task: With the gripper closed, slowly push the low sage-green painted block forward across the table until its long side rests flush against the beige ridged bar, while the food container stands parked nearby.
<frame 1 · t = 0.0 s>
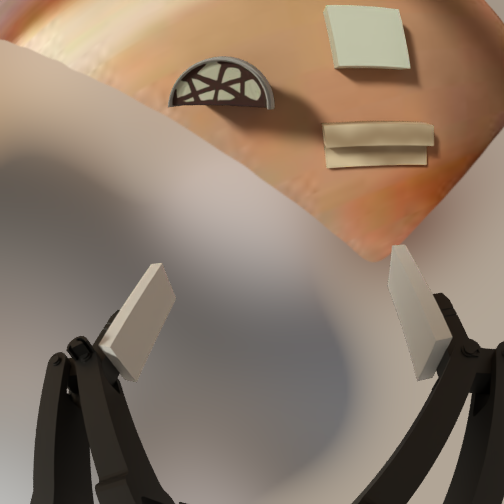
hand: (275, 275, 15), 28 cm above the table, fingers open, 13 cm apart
food container: (235, 83, 34), on the table
beige ridged bar: (376, 131, 34), on the table
block: (363, 40, 28), on the table
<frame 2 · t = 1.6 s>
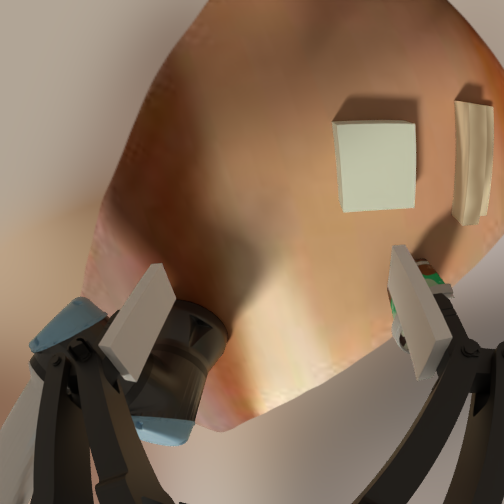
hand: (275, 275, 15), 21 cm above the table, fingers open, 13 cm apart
food container: (399, 281, 39), on the table
beige ridged bar: (463, 159, 27), on the table
block: (370, 159, 31), on the table
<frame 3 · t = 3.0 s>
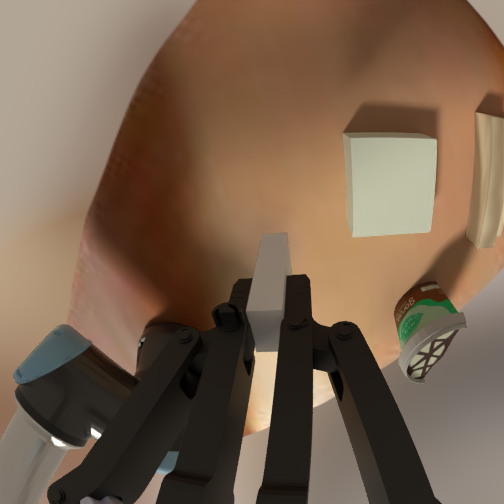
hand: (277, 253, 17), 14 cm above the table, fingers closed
food container: (406, 304, 36), on the table
beige ridged bar: (481, 177, 24), on the table
block: (384, 176, 27), on the table
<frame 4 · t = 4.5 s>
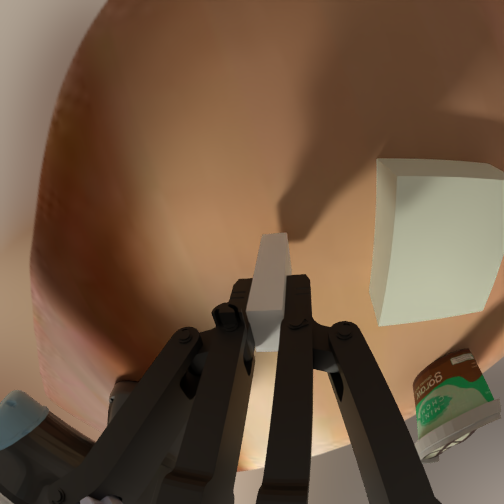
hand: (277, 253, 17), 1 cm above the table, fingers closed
food container: (429, 373, 25), on the table
block: (430, 227, 17), on the table
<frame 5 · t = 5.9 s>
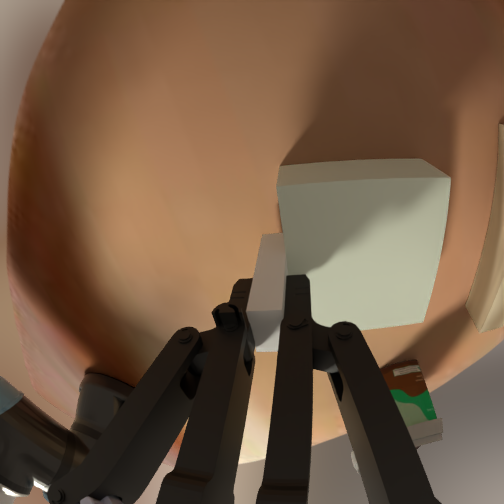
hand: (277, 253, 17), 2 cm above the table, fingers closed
food container: (375, 382, 27), on the table
beige ridged bar: (500, 226, 15), on the table
block: (356, 233, 18), on the table
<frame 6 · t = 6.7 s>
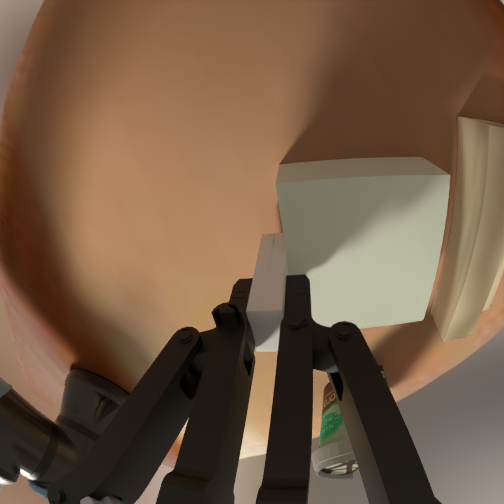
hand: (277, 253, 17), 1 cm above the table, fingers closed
food container: (341, 386, 27), on the table
beige ridged bar: (465, 228, 16), on the table
block: (356, 231, 18), on the table, touching gripper
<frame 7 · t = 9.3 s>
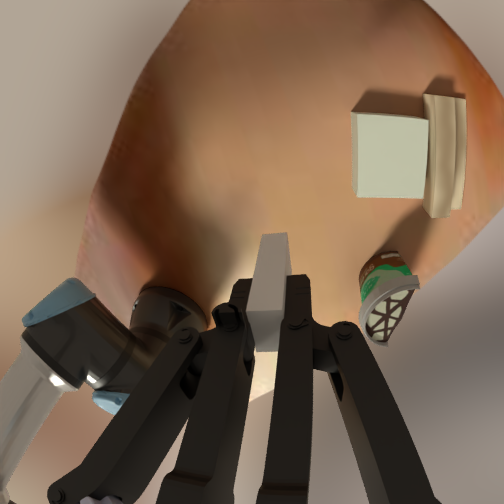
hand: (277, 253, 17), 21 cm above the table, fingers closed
food container: (370, 273, 41), on the table
beige ridged bar: (434, 152, 29), on the table
block: (384, 150, 31), on the table
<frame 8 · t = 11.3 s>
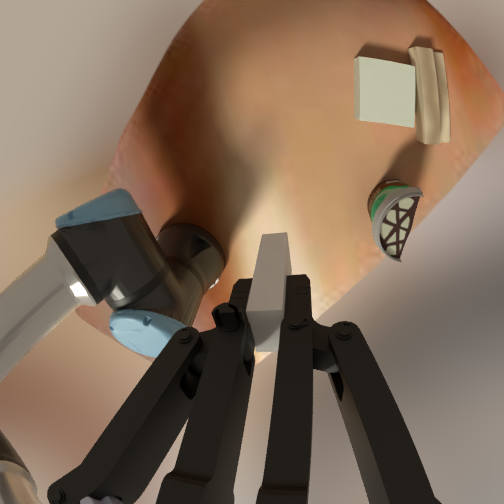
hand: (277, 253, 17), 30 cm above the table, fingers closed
food container: (377, 201, 45), on the table
beige ridged bar: (421, 94, 33), on the table
block: (380, 91, 35), on the table
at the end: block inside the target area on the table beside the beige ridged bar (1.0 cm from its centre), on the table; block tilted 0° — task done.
